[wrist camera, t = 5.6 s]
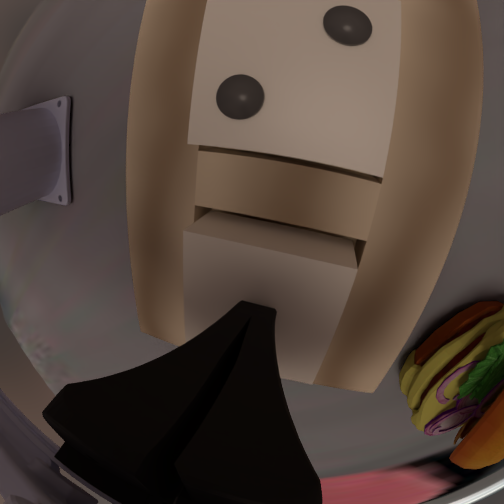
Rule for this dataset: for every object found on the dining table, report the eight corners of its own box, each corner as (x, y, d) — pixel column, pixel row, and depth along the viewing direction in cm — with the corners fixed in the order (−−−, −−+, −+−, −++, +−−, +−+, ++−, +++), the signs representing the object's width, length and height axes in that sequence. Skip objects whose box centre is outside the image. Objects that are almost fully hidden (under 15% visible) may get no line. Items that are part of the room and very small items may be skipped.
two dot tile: (216, 140, 10) (184, 144, 8) (234, 9, 8) (208, -19, 5) (369, 167, 9) (384, 179, 7) (386, 26, 6) (402, -2, 4)
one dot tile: (206, 318, 14) (184, 352, 12) (210, 210, 12) (180, 232, 9) (316, 347, 13) (311, 387, 11) (352, 240, 10) (358, 272, 8)
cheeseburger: (402, 299, 13) (500, 445, 4) (515, 262, 12) (603, 334, 3) (383, 406, 17) (418, 513, 7) (483, 364, 16) (532, 440, 6)
